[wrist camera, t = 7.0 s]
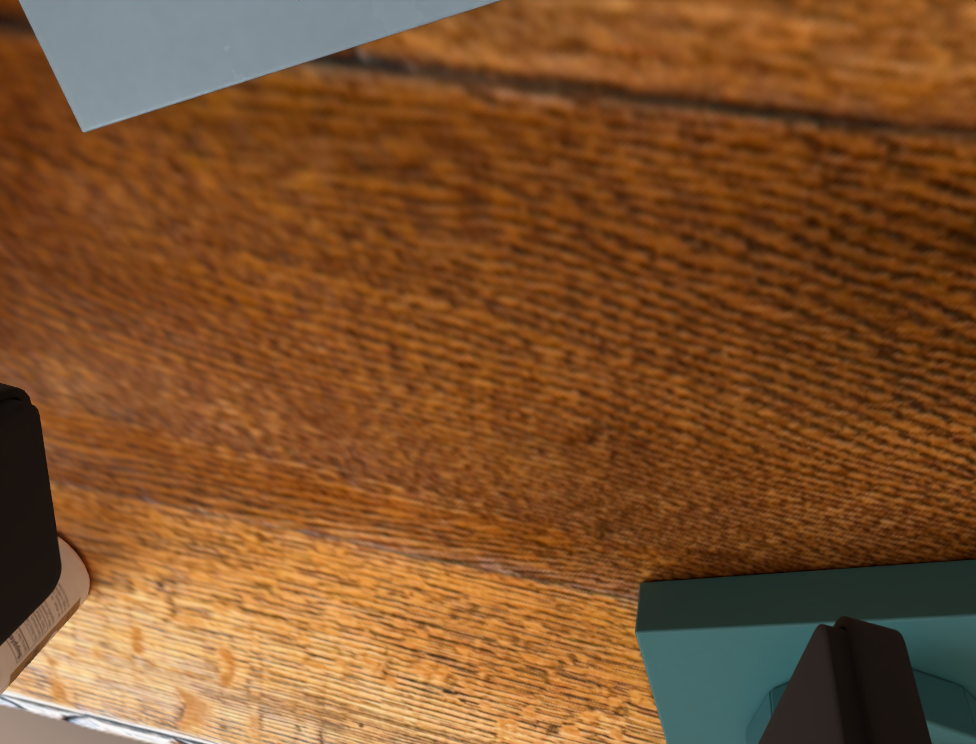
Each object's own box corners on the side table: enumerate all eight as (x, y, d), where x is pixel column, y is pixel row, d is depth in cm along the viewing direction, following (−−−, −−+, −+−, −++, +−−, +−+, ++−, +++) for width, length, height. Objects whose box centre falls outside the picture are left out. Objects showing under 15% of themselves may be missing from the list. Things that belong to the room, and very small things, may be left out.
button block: (1079, 550, 23) (1145, 664, 19) (1079, 797, 27) (1134, 927, 23) (639, 581, 27) (629, 679, 23) (697, 792, 31) (695, 902, 27)
